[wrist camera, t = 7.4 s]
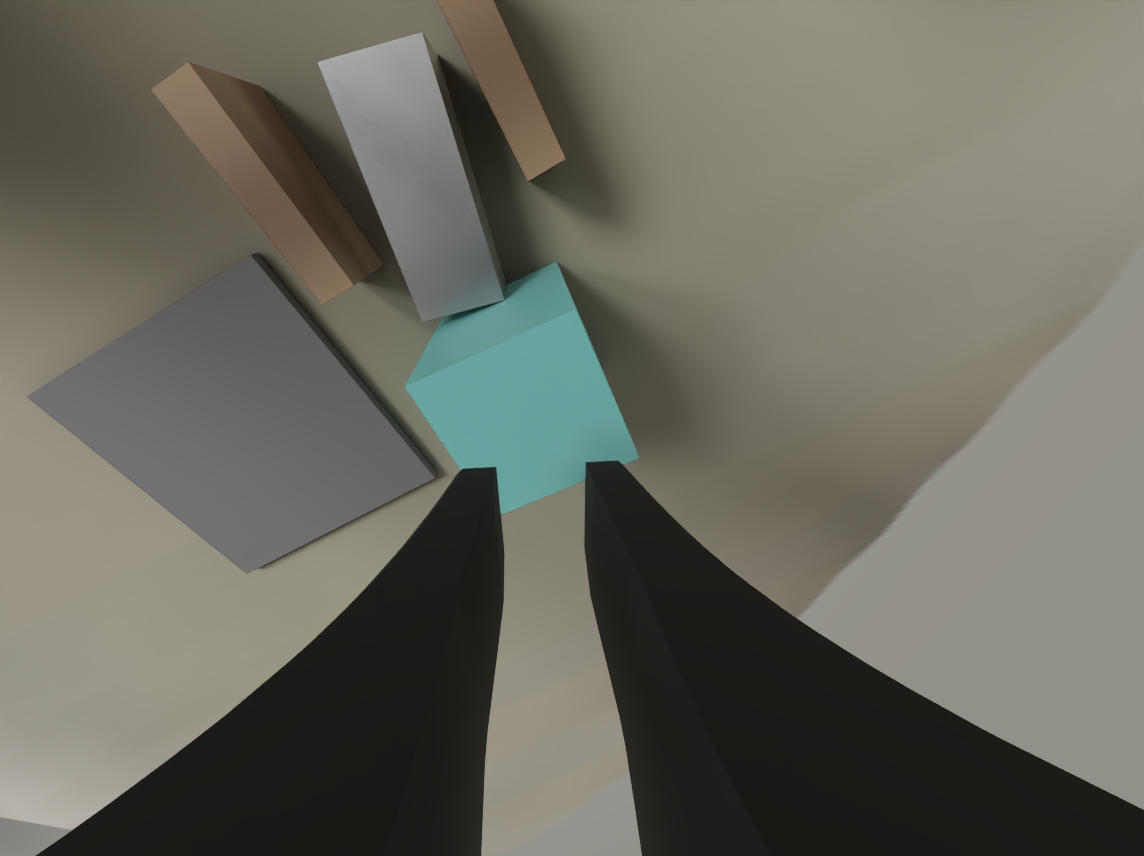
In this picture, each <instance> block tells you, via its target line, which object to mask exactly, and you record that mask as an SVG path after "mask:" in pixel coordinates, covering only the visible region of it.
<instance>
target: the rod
mask: <svg viewBox="0 0 1144 856" xmlns="http://www.w3.org/2000/svg"><path fill="white" fill-rule="evenodd" d="M318 65H319V67H320V70H321V72H322V75H323V77H324V80H325V82H326V85H327V87H328V90H329V92H330V95H331V97H332V100H333V102H334V105H335V107H336V110H337V112H338V115H339V117H340V120H341V122H342V125H343V127H344V130H345V132H346V135H347V137H348V139H349V142H350V144H351V147H352V149H353V152H354V154H355V157H356V159H357V162H358V164H359V167H360V169H361V172H362V174H363V177H364V179H365V182H366V184H367V187H368V189H369V192H370V194H371V197H372V199H373V202H374V204H375V207H376V209H377V212H378V214H379V217H380V219H381V222H382V224H383V227H384V229H385V232H386V234H387V237H388V239H389V242H390V244H391V247H392V249H393V251H394V254H395V256H396V259H397V261H398V264H399V266H400V269H401V271H402V274H403V276H404V279H405V281H406V284H407V286H408V289H409V291H410V294H411V296H412V299H413V301H414V304H415V306H416V309H417V311H418V314H419V316H420V319H421V321H422V322H424V321H428V320H432V319H436V318H439V317H443V316H447V315H451V314H454V313H458V312H462V311H466V310H469V309H473V308H477V307H481V306H485V305H488V304H492V303H496V302H500V301H503V300H504V299H505V292H506V286H507V284H506V280H505V277H504V274H503V270H502V267H501V264H500V260H499V257H498V254H497V250H496V247H495V244H494V240H493V237H492V234H491V230H490V227H489V224H488V220H487V217H486V214H485V210H484V207H483V204H482V200H481V197H480V194H479V190H478V187H477V184H476V180H475V177H474V174H473V170H472V167H471V164H470V160H469V157H468V154H467V150H466V147H465V144H464V140H463V137H462V134H461V130H460V127H459V124H458V120H457V117H456V114H455V110H454V107H453V104H452V100H451V97H450V94H449V90H448V87H447V84H446V80H445V77H444V74H443V71H442V67H441V64H440V61H439V57H438V54H437V53H436V51H435V50H434V48H433V47H432V46H431V44H430V43H429V41H428V40H427V39H426V37H425V36H424V34H423V33H422V32H421V33H417V34H414V35H410V36H407V37H403V38H400V39H396V40H393V41H389V42H386V43H382V44H379V45H375V46H372V47H368V48H365V49H361V50H358V51H354V52H351V53H347V54H344V55H340V56H337V57H333V58H330V59H326V60H323V61H319V62H318Z"/></svg>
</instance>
